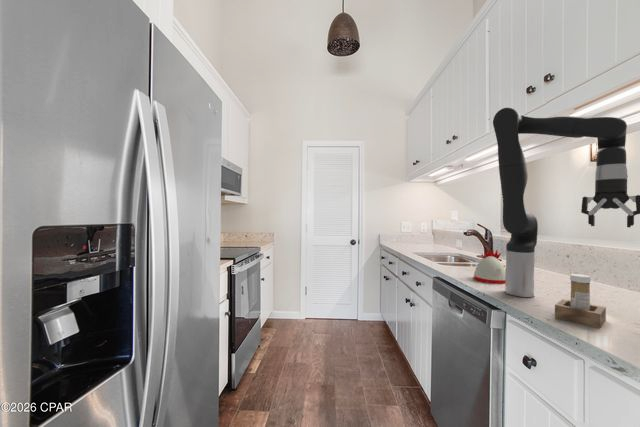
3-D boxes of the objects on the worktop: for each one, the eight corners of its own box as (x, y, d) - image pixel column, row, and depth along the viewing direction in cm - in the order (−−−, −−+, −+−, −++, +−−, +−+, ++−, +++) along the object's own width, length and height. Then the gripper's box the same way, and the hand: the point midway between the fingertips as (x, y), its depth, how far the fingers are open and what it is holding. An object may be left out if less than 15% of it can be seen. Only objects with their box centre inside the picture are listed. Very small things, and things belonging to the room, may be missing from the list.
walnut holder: (554, 317, 86) (555, 304, 86) (562, 311, 93) (563, 298, 93) (600, 328, 79) (600, 314, 79) (605, 320, 85) (605, 307, 85)
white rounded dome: (511, 285, 127) (512, 252, 127) (477, 282, 131) (478, 250, 131) (502, 278, 140) (502, 248, 140) (471, 276, 144) (471, 247, 144)
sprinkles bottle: (570, 315, 89) (570, 272, 89) (590, 318, 86) (590, 275, 86) (570, 319, 85) (569, 275, 86) (590, 323, 82) (590, 277, 83)
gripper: (580, 179, 98) (579, 226, 98) (642, 175, 87) (641, 228, 87) (584, 181, 102) (583, 225, 102) (643, 177, 91) (643, 227, 91)
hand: (610, 226), depth 94 cm, fingers open, 8 cm apart
